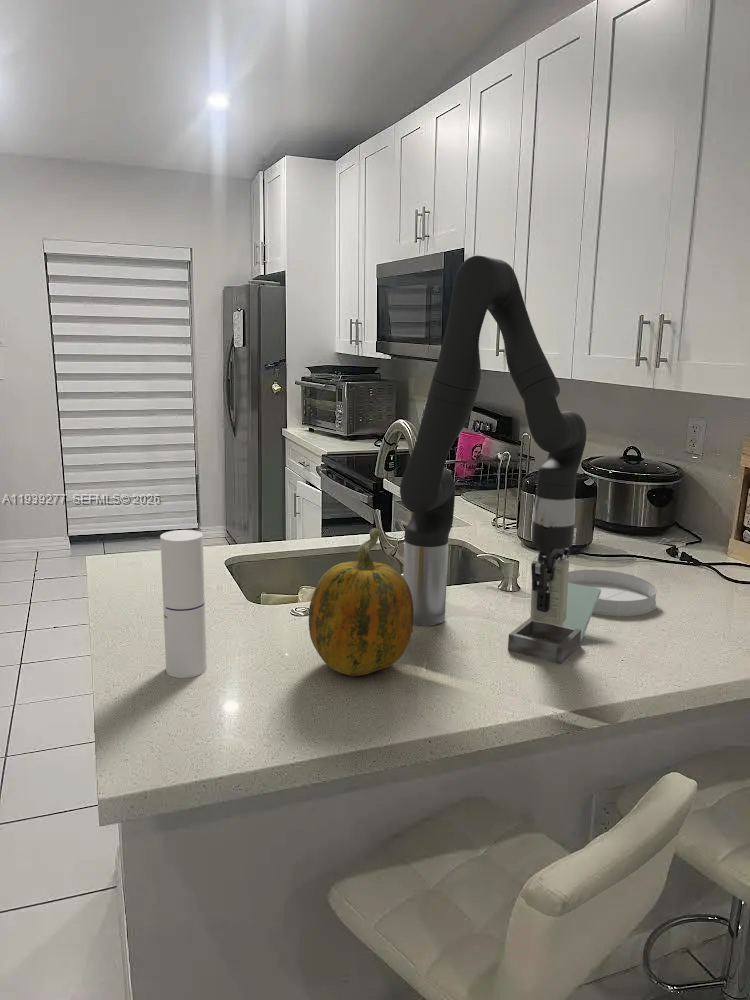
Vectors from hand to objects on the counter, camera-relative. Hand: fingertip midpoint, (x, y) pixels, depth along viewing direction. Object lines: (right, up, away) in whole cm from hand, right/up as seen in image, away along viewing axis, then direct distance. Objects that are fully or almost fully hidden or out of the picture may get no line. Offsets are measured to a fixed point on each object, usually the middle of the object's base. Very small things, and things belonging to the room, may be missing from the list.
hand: (547, 606), depth 143 cm
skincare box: (0, -3, +1) cm, 3 cm away
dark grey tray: (+3, -8, +7) cm, 11 cm away
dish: (+20, -4, +30) cm, 36 cm away
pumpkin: (-36, -11, -6) cm, 37 cm away
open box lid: (+6, -3, +11) cm, 13 cm away
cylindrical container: (-67, -10, -8) cm, 68 cm away
